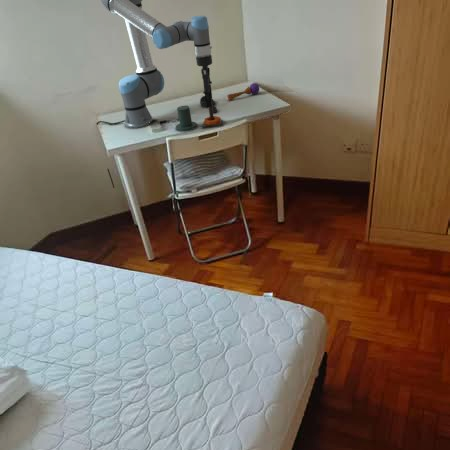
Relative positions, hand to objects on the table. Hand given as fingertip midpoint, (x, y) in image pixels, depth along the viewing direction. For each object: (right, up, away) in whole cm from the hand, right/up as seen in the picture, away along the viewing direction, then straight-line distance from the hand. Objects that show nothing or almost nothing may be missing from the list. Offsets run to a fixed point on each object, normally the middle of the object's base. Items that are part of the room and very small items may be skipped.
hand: (209, 102), depth 212 cm
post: (+1, -8, +7) cm, 11 cm away
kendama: (+19, +20, +36) cm, 46 cm away
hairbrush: (-1, +11, +29) cm, 31 cm away
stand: (-12, -9, +8) cm, 18 cm away
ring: (+1, -7, +6) cm, 10 cm away
